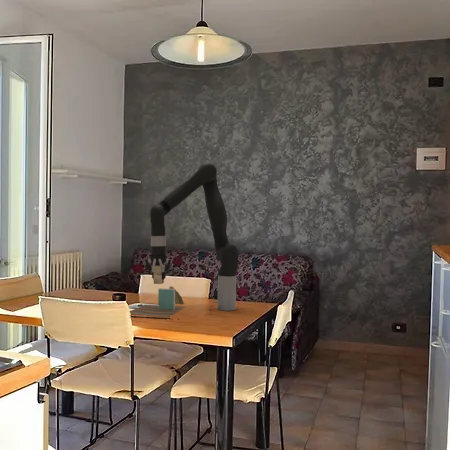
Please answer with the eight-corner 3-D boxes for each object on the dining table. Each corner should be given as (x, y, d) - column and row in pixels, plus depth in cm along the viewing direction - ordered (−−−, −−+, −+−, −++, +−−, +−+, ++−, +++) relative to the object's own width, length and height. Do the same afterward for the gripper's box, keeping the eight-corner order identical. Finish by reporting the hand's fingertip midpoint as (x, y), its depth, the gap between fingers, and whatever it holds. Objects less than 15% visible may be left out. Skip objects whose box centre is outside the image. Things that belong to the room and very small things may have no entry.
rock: (189, 301, 280) (176, 296, 287) (183, 289, 276) (170, 284, 282) (176, 315, 275) (163, 310, 281) (170, 303, 270) (157, 298, 277)
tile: (159, 308, 263) (159, 288, 262) (174, 309, 261) (175, 289, 261) (157, 309, 261) (158, 288, 260) (173, 310, 259) (173, 289, 259)
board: (144, 306, 274) (144, 304, 274) (185, 309, 269) (185, 306, 269) (123, 316, 246) (123, 314, 246) (168, 319, 242) (168, 316, 242)
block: (156, 282, 267) (156, 264, 267) (163, 282, 266) (163, 264, 266) (153, 283, 263) (153, 265, 263) (161, 284, 263) (161, 265, 262)
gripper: (174, 244, 267) (174, 278, 267) (147, 244, 269) (147, 278, 270) (169, 245, 259) (170, 280, 260) (142, 245, 262) (142, 280, 263)
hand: (158, 279), depth 265 cm, fingers closed on block, 4 cm apart
